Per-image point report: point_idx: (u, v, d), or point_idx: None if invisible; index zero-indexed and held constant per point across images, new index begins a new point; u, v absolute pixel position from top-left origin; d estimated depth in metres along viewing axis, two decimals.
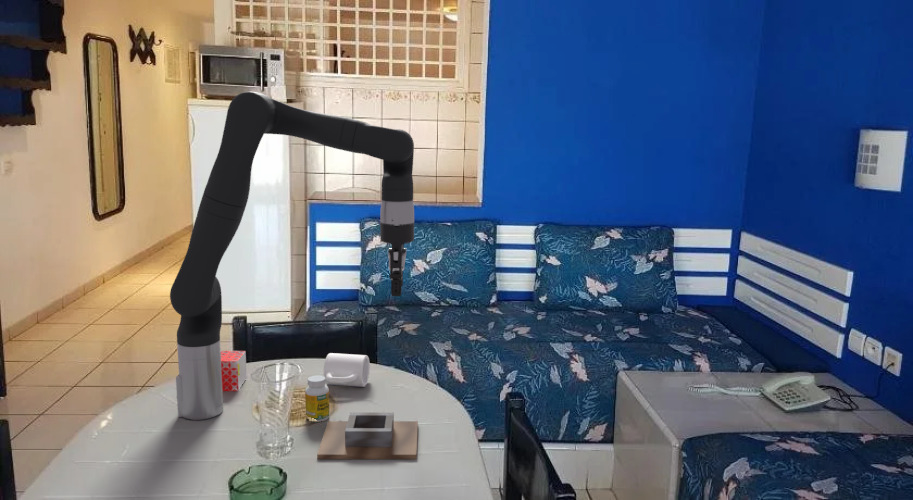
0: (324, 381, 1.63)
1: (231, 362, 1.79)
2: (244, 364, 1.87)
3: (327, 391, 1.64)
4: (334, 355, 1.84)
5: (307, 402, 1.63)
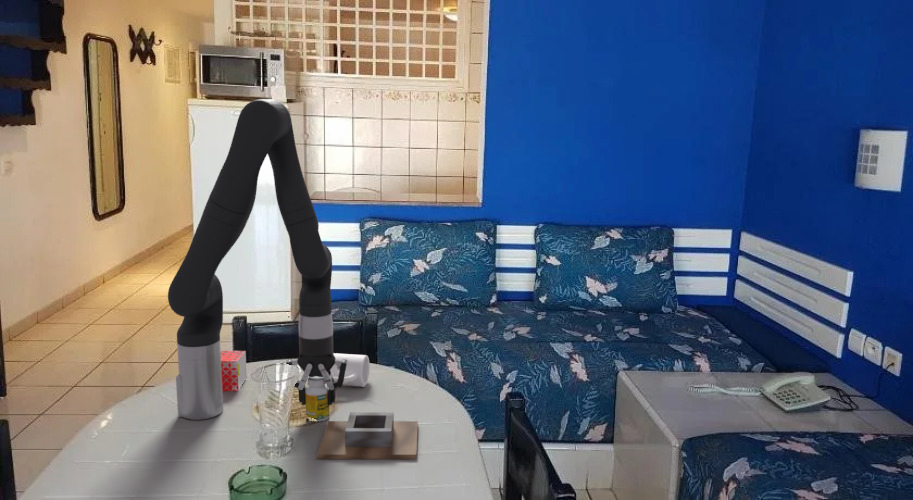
0: (324, 381, 1.63)
1: (231, 362, 1.79)
2: (244, 364, 1.87)
3: (327, 391, 1.64)
4: (334, 355, 1.85)
5: (307, 402, 1.63)
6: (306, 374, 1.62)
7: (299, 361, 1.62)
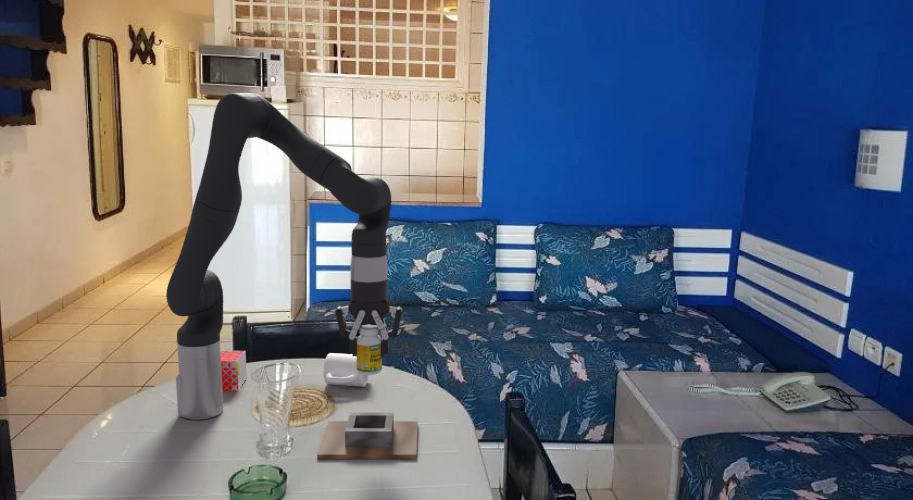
0: (377, 330, 1.49)
1: (231, 362, 1.79)
2: (244, 364, 1.87)
3: (380, 341, 1.49)
4: (334, 355, 1.85)
5: (359, 353, 1.49)
6: (358, 322, 1.47)
7: (350, 308, 1.47)
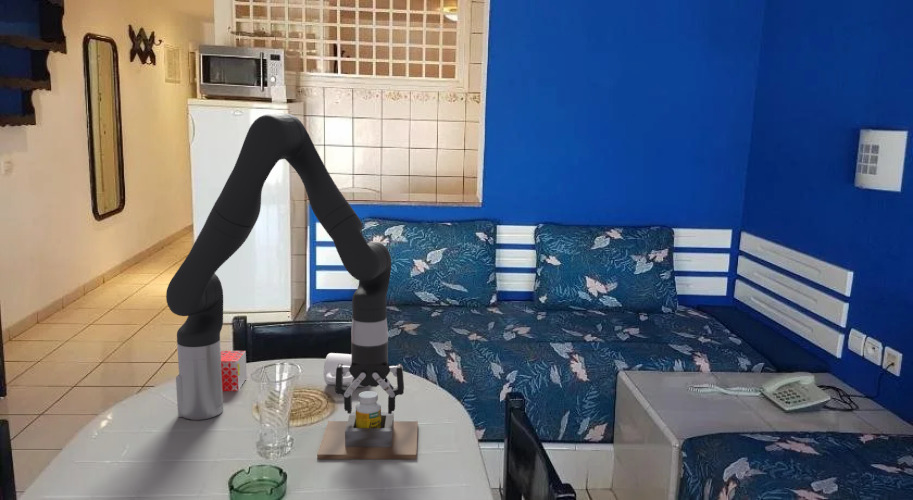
0: (376, 397, 1.52)
1: (231, 362, 1.79)
2: (244, 364, 1.87)
3: (379, 408, 1.52)
4: (334, 355, 1.85)
5: (358, 420, 1.51)
6: (356, 382, 1.50)
7: (352, 369, 1.50)
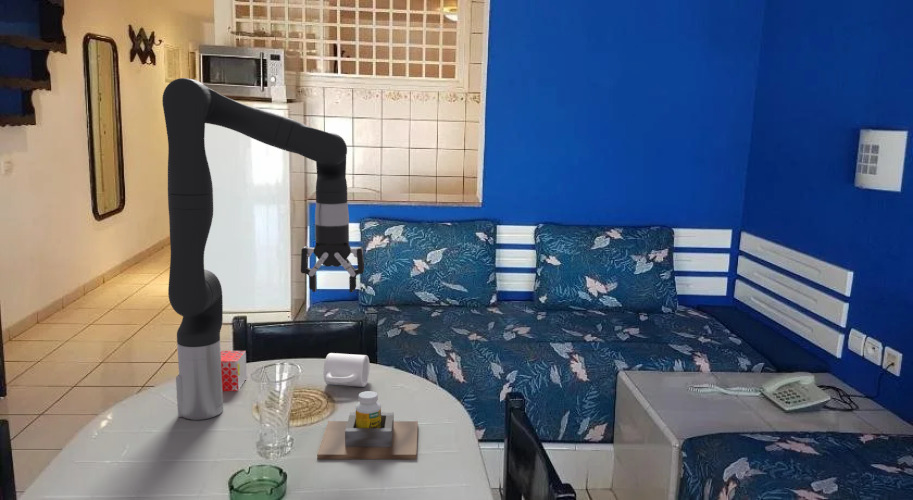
0: (376, 397, 1.52)
1: (231, 362, 1.79)
2: (244, 364, 1.87)
3: (379, 408, 1.52)
4: (334, 355, 1.85)
5: (358, 420, 1.51)
6: (320, 262, 1.64)
7: (316, 250, 1.64)
